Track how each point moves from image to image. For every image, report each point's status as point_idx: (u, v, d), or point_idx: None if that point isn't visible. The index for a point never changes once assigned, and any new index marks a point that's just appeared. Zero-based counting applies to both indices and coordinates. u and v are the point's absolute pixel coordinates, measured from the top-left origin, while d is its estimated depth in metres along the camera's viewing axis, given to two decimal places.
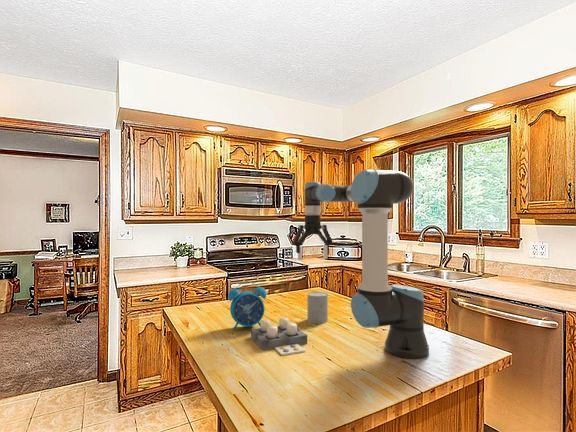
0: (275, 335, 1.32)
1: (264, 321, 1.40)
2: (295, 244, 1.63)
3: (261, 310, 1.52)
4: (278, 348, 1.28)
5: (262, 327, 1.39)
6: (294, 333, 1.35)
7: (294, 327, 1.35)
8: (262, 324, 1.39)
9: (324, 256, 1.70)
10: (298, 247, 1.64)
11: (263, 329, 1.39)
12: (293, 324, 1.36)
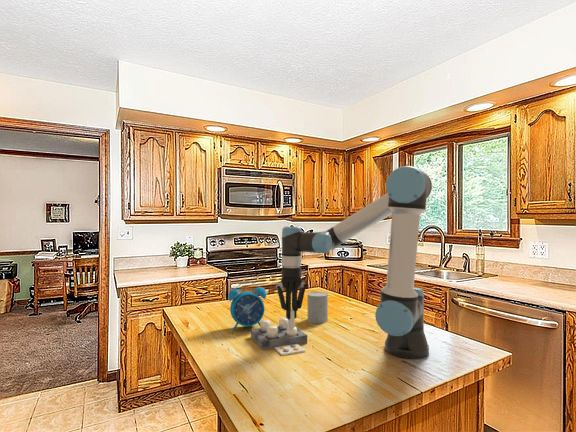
0: (275, 335, 1.32)
1: (264, 321, 1.40)
2: (285, 309, 1.34)
3: (261, 310, 1.52)
4: (278, 348, 1.28)
5: (262, 327, 1.39)
6: None
7: (294, 330, 1.35)
8: (262, 324, 1.39)
9: None
10: (288, 312, 1.35)
11: (263, 329, 1.39)
12: None
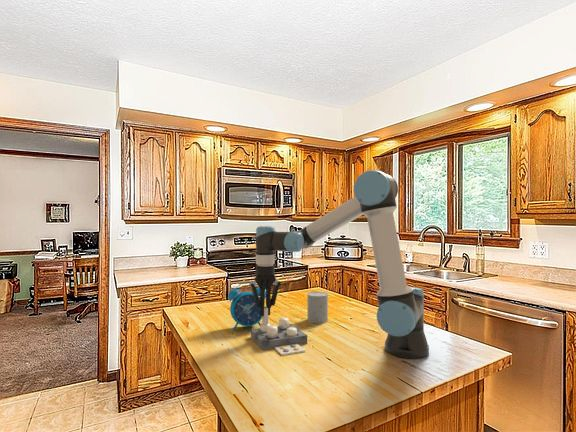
0: (275, 335, 1.32)
1: None
2: (259, 306, 1.38)
3: None
4: (278, 348, 1.28)
5: (262, 330, 1.39)
6: None
7: (294, 331, 1.35)
8: (262, 327, 1.39)
9: None
10: (262, 309, 1.39)
11: (263, 332, 1.39)
12: (293, 328, 1.36)
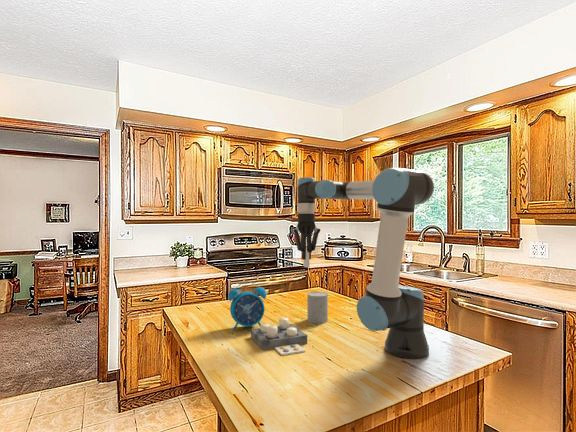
0: (275, 335, 1.32)
1: (264, 325, 1.40)
2: (301, 250, 1.52)
3: (261, 310, 1.52)
4: (278, 348, 1.28)
5: (262, 331, 1.39)
6: None
7: (294, 331, 1.35)
8: (262, 328, 1.39)
9: None
10: (304, 253, 1.53)
11: None
12: (293, 328, 1.36)
